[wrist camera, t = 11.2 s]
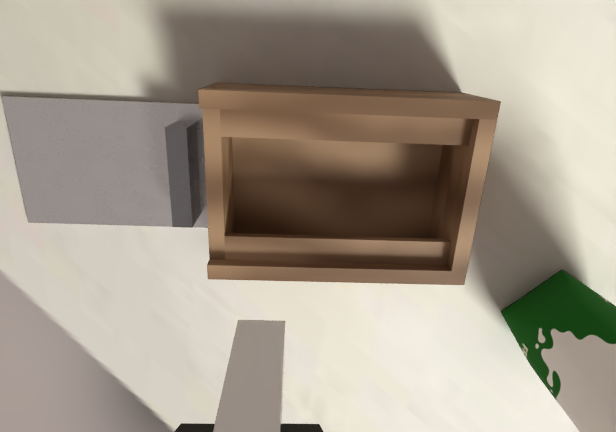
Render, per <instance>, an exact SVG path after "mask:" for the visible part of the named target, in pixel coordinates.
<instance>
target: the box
mask: <svg viewBox="0 0 616 432" xmlns="http://www.w3.org/2000/svg"><path fill="white" fill-rule="evenodd" d="M198 99H199V109H202V113H203V133H204V153H205V173H206V194H207V214H208V234H209V254H210V260H209V262H208V264H207V272H208V279H225V280H268V281H311V282H354V283H397V284H440V285H464V283H465V278H466V273H467V268H468V263H469V258H470V253H471V248H472V243H473V238H474V233H475V228H476V223H477V218H478V213H479V208H480V203H481V198H482V193H483V188H484V183H485V178H486V173H487V168H488V163H489V158H490V153H491V148H492V143H493V138H494V133H495V128H496V123H497V118H498V113H499V108H500V103H501V102H500V101H496V100H492V99H487V98H483V97H479V96H474V95H470V94H465V93H456V92H432V91H407V90H382V89H357V88H332V87H308V86H283V85H258V84H233V83H215V84H213V85H210V86H207V87H204V88H201V89H198Z"/></svg>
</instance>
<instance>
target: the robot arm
mask: <svg viewBox="0 0 616 432" xmlns="http://www.w3.org/2000/svg"><path fill="white" fill-rule="evenodd" d="M284 344H285V321H264V320H238V323H237V327H236V332H235V336H234V341H233V345H232V350H231V354H230V359H229V363H228V367H227V372H226V376H225V381H224V385H223V390H222V394H221V399H220V403H219V408H218V412H217V416H216V421H215V424H180V426H179V427H178V428H177V429H176V431H175V432H323V430H322V428H321V427H320V425H319V424H282V406H283V381H284Z"/></svg>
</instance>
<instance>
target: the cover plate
mask: <svg viewBox="0 0 616 432" xmlns="http://www.w3.org/2000/svg"><path fill="white" fill-rule="evenodd" d="M2 100H3V105H4V110H5V114H6V119H7V124H8V129H9V133H10V138H11V143H12V147H13V152H14V157H15V162H16V166H17V171H18V176H19V181H20V185H21V190H22V195H23V200H24V204H25V209H26V214H27V218H28V222H29V223H64V224H99V225H134V226H169V227H204V228H208V214H207V194H206V173H205V153H204V133H203V113H202V109H199V104H196V103H171V102H146V101H121V100H95V99H70V98H45V97H20V96H2Z"/></svg>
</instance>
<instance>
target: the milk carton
mask: <svg viewBox="0 0 616 432" xmlns="http://www.w3.org/2000/svg"><path fill="white" fill-rule="evenodd" d="M501 313H502V315H503V316H504V318H505V320H506V322H507V324H508V326H509V327H510V329H511V331H512V333H513V335H514V337H515V338H516V340H517V342H518V344H519V346H520V348H521V349H522V351H523V353H524V355H525V357H526V358H527V360H528V362H529V363H530V365H531V366H532V368H533V369H534V371H535V372H536V373H537V375H538V376H539V378H540V379H541V380H542V382H543V383H544V384H545V386H546V387H547V388H548V390H549V391H550V392H551V394H552V395H553V396H554V398H555V399H556V400H557V402H558V403H559V404H560V406H561V407H562V408H563V410H564V411H565V412H566V414H567V415H568V416H569V418H570V419H571V420H572V422H573V423H574V424H575V426H576V427H577V428H578V430H579V431H580V432H616V306H615V305H613V304H612V303H610V302H609V301H608V300H606V299H605V298H603V297H602V296H600V295H599V294H597V293H596V292H594V291H593V290H591V289H590V288H589V287H587V286H586V285H584V284H583V283H581V282H580V281H578V280H577V279H575V278H574V277H572V276H571V275H569V274H568V273H567V272H565V271H564V270H561V271H559V272H558V273H556V274H555V275H554V276H552V277H551V278H549V279H548V280H546V281H545V282H543V283H542V284H541V285H539V286H538V287H536V288H535V289H533V290H532V291H530V292H529V293H527V294H526V295H525V296H523V297H522V298H520V299H519V300H517V301H516V302H514V303H513V304H511V305H510V306H509V307H507V308H506V309H504V310H503V311H501Z"/></svg>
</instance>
